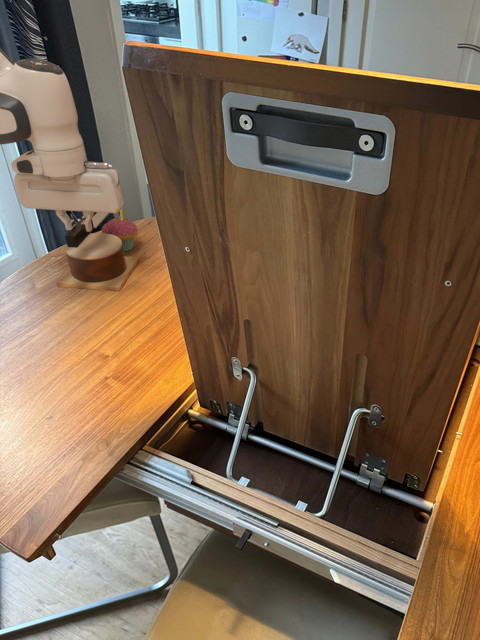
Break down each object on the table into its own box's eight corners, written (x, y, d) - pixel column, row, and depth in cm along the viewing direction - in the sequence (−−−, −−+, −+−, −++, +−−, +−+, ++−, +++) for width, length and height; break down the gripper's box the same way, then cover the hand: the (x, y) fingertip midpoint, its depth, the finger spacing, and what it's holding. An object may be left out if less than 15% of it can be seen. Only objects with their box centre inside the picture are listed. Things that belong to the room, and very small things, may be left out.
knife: (78, 247, 103) (76, 236, 102) (66, 247, 103) (63, 235, 102) (112, 209, 118) (110, 199, 117) (101, 208, 118) (99, 198, 117)
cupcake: (122, 237, 132) (114, 190, 124) (148, 245, 129) (140, 198, 121) (97, 250, 126) (87, 202, 119) (123, 259, 123) (114, 210, 115)
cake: (57, 286, 113) (48, 257, 108) (82, 257, 123) (75, 229, 119) (119, 291, 112) (113, 261, 107) (139, 261, 123) (134, 233, 118)
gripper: (121, 157, 99) (133, 226, 107) (18, 152, 100) (39, 220, 109) (110, 168, 94) (123, 239, 103) (2, 163, 95) (24, 233, 104)
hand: (79, 230), depth 106 cm, fingers closed on knife, 2 cm apart
